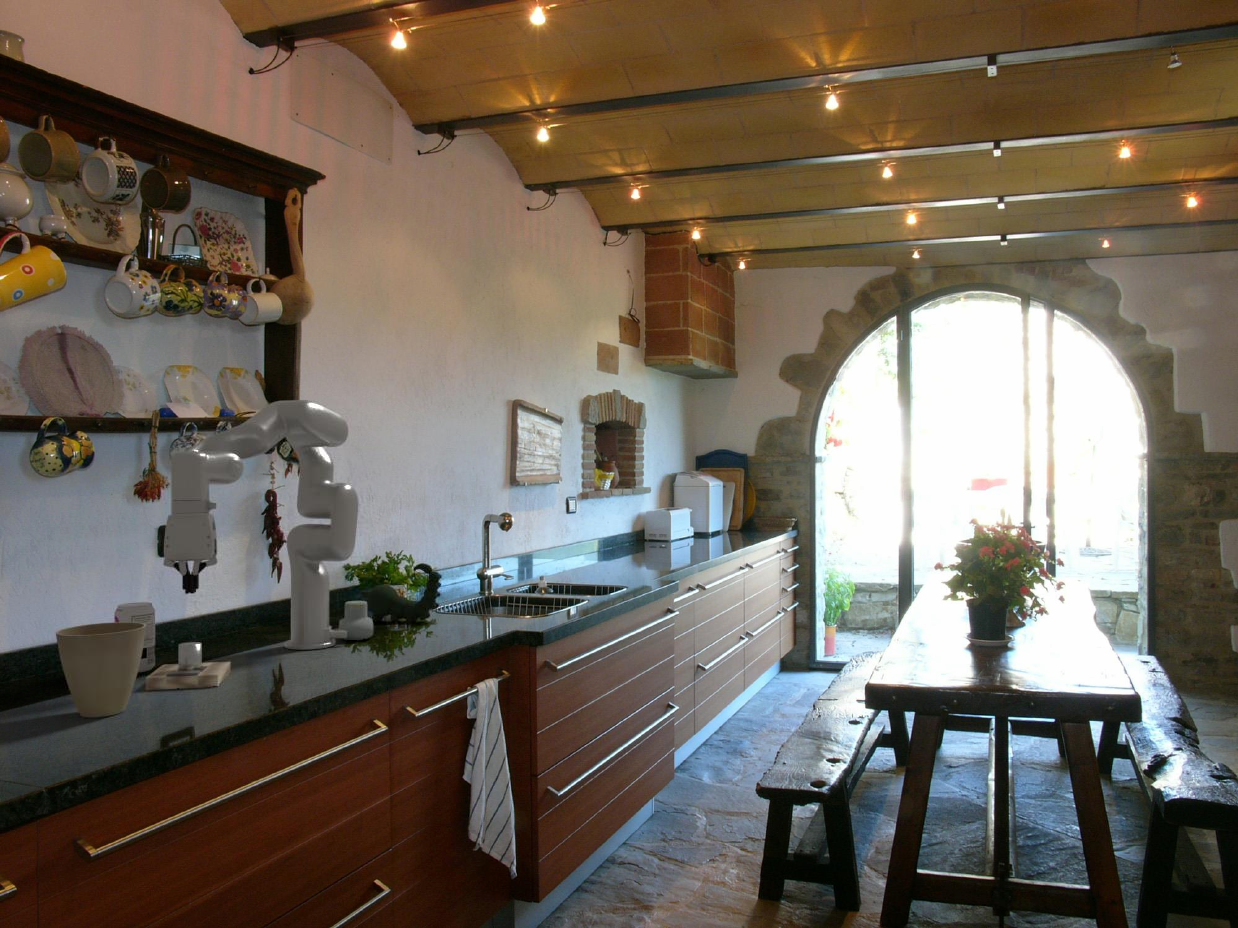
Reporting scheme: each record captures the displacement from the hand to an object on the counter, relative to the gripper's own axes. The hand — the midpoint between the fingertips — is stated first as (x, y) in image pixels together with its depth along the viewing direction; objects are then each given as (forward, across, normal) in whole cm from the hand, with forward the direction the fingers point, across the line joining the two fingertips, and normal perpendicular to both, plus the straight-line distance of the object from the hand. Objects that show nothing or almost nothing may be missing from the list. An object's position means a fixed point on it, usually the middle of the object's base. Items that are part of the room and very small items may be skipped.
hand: (190, 592), depth 204 cm
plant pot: (+19, +10, +26) cm, 33 cm away
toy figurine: (+20, -43, -71) cm, 86 cm away
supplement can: (+19, +15, -14) cm, 28 cm away
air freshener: (+20, -32, -44) cm, 58 cm away
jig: (+19, 0, +1) cm, 19 cm away
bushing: (+19, 0, 0) cm, 19 cm away
